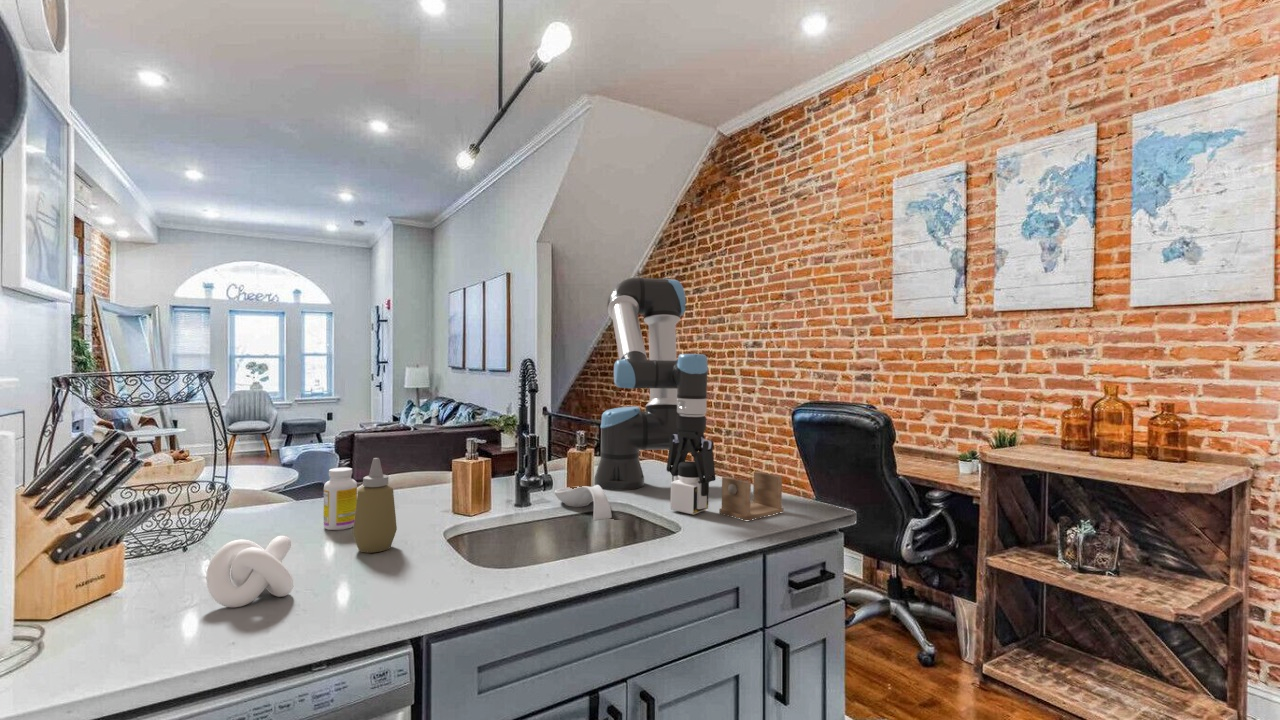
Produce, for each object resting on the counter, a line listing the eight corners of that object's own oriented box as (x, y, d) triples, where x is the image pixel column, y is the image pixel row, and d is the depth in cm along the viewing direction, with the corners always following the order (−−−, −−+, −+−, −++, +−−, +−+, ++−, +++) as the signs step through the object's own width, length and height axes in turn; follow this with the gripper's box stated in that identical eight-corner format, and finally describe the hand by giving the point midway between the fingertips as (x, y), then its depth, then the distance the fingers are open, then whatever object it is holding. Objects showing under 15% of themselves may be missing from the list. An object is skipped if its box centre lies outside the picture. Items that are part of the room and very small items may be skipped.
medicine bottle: (693, 515, 146) (694, 466, 146) (669, 509, 150) (670, 462, 150) (708, 509, 152) (709, 462, 151) (685, 504, 156) (686, 458, 156)
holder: (717, 513, 149) (718, 477, 149) (757, 505, 159) (757, 470, 158) (745, 522, 142) (746, 483, 142) (784, 512, 152) (785, 476, 151)
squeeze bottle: (380, 557, 114) (381, 463, 114) (343, 553, 115) (344, 460, 115) (405, 544, 122) (406, 456, 121) (369, 541, 123) (371, 454, 123)
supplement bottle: (362, 523, 136) (363, 467, 136) (345, 531, 129) (346, 472, 129) (335, 521, 136) (335, 465, 136) (316, 530, 130) (317, 471, 130)
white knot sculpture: (239, 583, 100) (240, 529, 100) (314, 581, 101) (314, 529, 101) (195, 611, 89) (196, 552, 89) (280, 610, 90) (281, 551, 90)
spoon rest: (548, 501, 160) (548, 474, 160) (588, 497, 166) (589, 471, 165) (581, 524, 139) (581, 493, 139) (626, 518, 145) (626, 489, 144)
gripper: (653, 411, 156) (651, 497, 157) (710, 420, 140) (708, 516, 140) (674, 410, 161) (672, 493, 161) (732, 418, 145) (730, 511, 145)
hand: (689, 504), depth 151 cm, fingers closed on medicine bottle, 8 cm apart
